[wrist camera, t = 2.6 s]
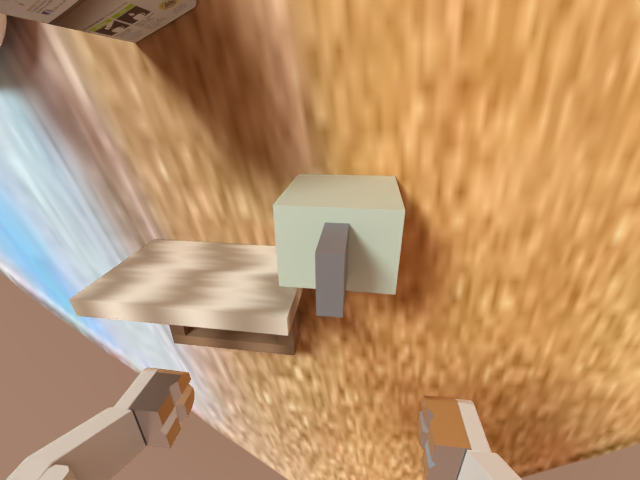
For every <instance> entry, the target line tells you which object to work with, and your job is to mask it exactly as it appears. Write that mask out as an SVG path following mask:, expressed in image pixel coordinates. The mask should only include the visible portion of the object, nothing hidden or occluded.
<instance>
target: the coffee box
mask: <svg viewBox="0 0 640 480" xmlns="http://www.w3.org/2000/svg"><path fill="white" fill-rule="evenodd" d="M196 4H197V0H0V13H1V14H5V15H9V16H15V17H19V18H23V19H28V20H33V21H37V22H42V23H47V24H51V25H56V26H61V27H65V28H69V29H74V30H80V31H83V32H88V33H92V34H97V35H101V36H106V37H110V38H115V39H119V40H124V41H129V42H134V43H135V42H138V41H139V40H141V39H143V38H145V37H146V36H148V35H150V34H151V33H153V32H155V31H156V30H158V29H160V28H161V27H163V26H165V25H167V24H168V23H170V22H172V21H173V20H175V19H176V18H178V17H180V16H181V15H183V14H185V13H186V12H188V11H189V10H191V9H193V8H194V7H195V6H196Z"/></svg>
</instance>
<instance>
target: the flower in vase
mask: <svg viewBox="0 0 640 480" xmlns="http://www.w3.org/2000/svg"><path fill="white" fill-rule="evenodd" d="M6 20H7V15H5V14H1V13H0V47H1V45H2V43H3V40H4V36H5V31H6Z"/></svg>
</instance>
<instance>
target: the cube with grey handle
mask: <svg viewBox="0 0 640 480" xmlns="http://www.w3.org/2000/svg"><path fill="white" fill-rule="evenodd" d="M273 215H274V228H275V240H276V253H277V265H278V278H279V286H284V287H298V288H312V289H316V316H327V317H338V318H343V312H344V303H345V295H346V291H352V292H366V293H380V294H393V295H395V294H396V286H397V277H398V269H399V260H400V252H401V243H402V234H403V226H404V217H405V208H404V204H403V201H402V198H401V194H400V191H399V188H398V184H397V181H396V178H395V176H369V175H330V174H298V175H297V176H296V177H295V179H294V180H293V181H292V182H291V183H290V185H289V186H288V187H287V188H286V190H285V191H284V192H283V193H282V194H281V196H280V197H279V198H278V199H277V200H276V202H275V203H274V204H273Z"/></svg>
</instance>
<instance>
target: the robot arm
mask: <svg viewBox="0 0 640 480" xmlns="http://www.w3.org/2000/svg"><path fill="white" fill-rule="evenodd" d="M190 380H191V378H190V375H189V373H188V372H180V371H173V370H165V369H157V368H146V369H144V370H143V371H142V372H141V373H140V374H139V376H138V377H137V378H136V380H135V381H134V382H133V383H132V385H131V386H130V387H129V389H128V390H127V391H126V392H125V393H124V395H123V396H122V397H121V398H120V400H119V401H118V402H117V403H116V405H115V406H114V407H113V408H111V407H109V408H107V409H106V410H104V411H103V412H101V413H99V414H97V415H96V416H94V417H93V418H91V419H89V420H88V421H86V422H84V423H83V424H81V425H79V426H78V427H76V428H74V429H73V430H72V431H70V432H68V433H66V434H65V435H63V436H61V437H60V438H58V439H56V440H55V441H53V442H52V443H50V444H48V445H47V446H45V447H43V448H42V449H40V450H39V451H37V452H35V453H34V454H32V455H30V456H29V457H27V458H26V459H25V460H24V461H23V462H22V463H21V464H20V465H19V466H18V467H17V468H16V469H15V471H14V472H13V473H12V474H11V475H10V476H9V477H8V478H7V479H6V480H110V479H111V478H112V477H113V476H115V475H116V474H117V473H118V472H119V471H120V470H121V469H122V468H124V467H125V466H126V465H127V464H128V463H129V462H131V461H132V460H133V459H134V458H135V457H136V456H137V455H139V453H141V452H142V451H143V450H144V449H145V448H146V446H152V447H163V448H171V446H172V444H173V442H174V441H175V439H176V437H177V435H178V433H179V431H180V430H181V426H180V422H181V421H182V420H184V419H185V418H186V417H188V415H189V413H190V411H191V409H192V406H193V402H194V389H193V387H192V386H190V385H189V384H188V383H189V382H190ZM421 407H422V410H421V411H420V412H419V416H418V436H419V443H420V445H421V446H422V447H423V449H424V452H423V457H422V461H423V467H424V473H425V479H426V480H522V479H521V478H520V477H519V476H518V475H517V474H516V473H515V471H514V470H513V469H512V468H511V467H510V466H509V465H508V464H507V463H506V462H505V461H504V460H503V459H502V458H501V457H500V456H499V455H498V454H497V453H493V452H491V449H490V446H489V443H488V441H487V438H486V435H485V432H484V430H483V427H482V424H481V421H480V419H479V416H478V413H477V410H476V408H475V405H474V403H473V402H472V401H471V400H463V399H454V398H446V397H434V396H423V397H422V400H421Z"/></svg>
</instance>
